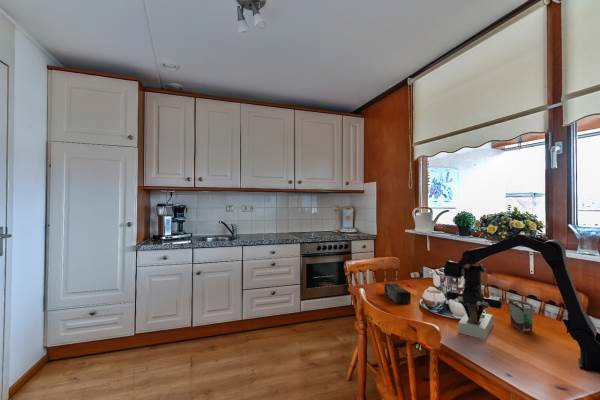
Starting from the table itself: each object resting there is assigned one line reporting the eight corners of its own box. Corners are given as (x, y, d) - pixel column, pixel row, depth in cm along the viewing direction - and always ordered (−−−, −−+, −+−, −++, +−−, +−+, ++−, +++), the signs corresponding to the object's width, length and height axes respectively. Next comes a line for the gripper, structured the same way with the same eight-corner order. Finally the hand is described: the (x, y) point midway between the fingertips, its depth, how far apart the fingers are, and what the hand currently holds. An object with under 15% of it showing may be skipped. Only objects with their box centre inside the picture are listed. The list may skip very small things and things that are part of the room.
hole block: (485, 339, 107) (485, 328, 107) (458, 332, 113) (458, 322, 113) (492, 324, 120) (492, 315, 120) (468, 318, 126) (468, 310, 126)
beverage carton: (397, 293, 165) (397, 282, 165) (411, 304, 146) (411, 292, 146) (384, 293, 164) (383, 282, 165) (396, 305, 145) (396, 292, 145)
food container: (543, 335, 109) (542, 309, 109) (525, 334, 110) (524, 308, 111) (524, 322, 121) (524, 299, 122) (508, 321, 123) (508, 298, 123)
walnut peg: (479, 328, 113) (478, 303, 113) (477, 330, 111) (477, 305, 111) (470, 326, 115) (470, 301, 115) (469, 328, 113) (468, 303, 113)
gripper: (441, 280, 114) (442, 319, 113) (497, 289, 101) (499, 333, 101) (449, 275, 122) (450, 311, 122) (502, 283, 109) (503, 323, 109)
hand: (473, 319), depth 113 cm, fingers closed on walnut peg, 3 cm apart
